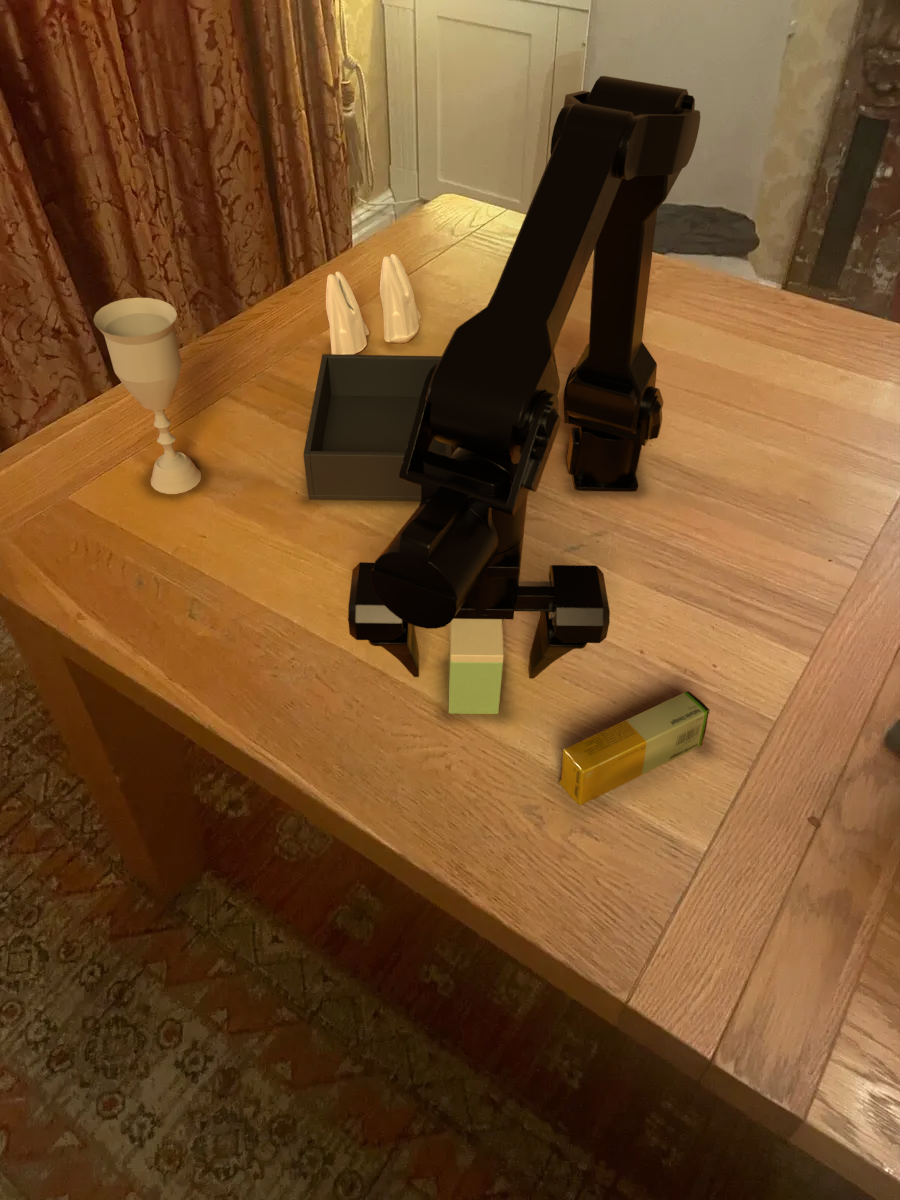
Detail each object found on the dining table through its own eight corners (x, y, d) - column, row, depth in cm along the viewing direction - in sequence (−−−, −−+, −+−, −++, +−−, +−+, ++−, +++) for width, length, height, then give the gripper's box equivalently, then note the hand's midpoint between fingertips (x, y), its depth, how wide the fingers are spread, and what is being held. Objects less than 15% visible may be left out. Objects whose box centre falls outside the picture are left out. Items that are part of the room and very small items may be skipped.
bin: (450, 399, 104) (451, 356, 100) (450, 501, 91) (451, 456, 87) (326, 397, 103) (322, 353, 99) (308, 499, 91) (303, 454, 87)
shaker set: (418, 328, 114) (418, 242, 106) (428, 345, 112) (428, 258, 104) (325, 342, 112) (317, 255, 104) (333, 359, 109) (325, 271, 101)
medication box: (681, 722, 72) (689, 687, 70) (704, 745, 71) (713, 710, 68) (557, 783, 68) (560, 747, 65) (578, 808, 66) (583, 773, 64)
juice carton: (496, 666, 76) (501, 607, 71) (498, 714, 73) (503, 656, 67) (448, 665, 76) (450, 606, 71) (448, 713, 73) (450, 655, 67)
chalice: (225, 469, 94) (193, 308, 81) (185, 507, 90) (144, 344, 77) (167, 450, 96) (126, 291, 83) (125, 487, 92) (76, 324, 79)
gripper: (605, 457, 67) (579, 602, 79) (353, 453, 67) (364, 599, 78) (625, 560, 60) (593, 705, 71) (341, 556, 59) (354, 702, 71)
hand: (473, 673), depth 73 cm, fingers open, 9 cm apart
